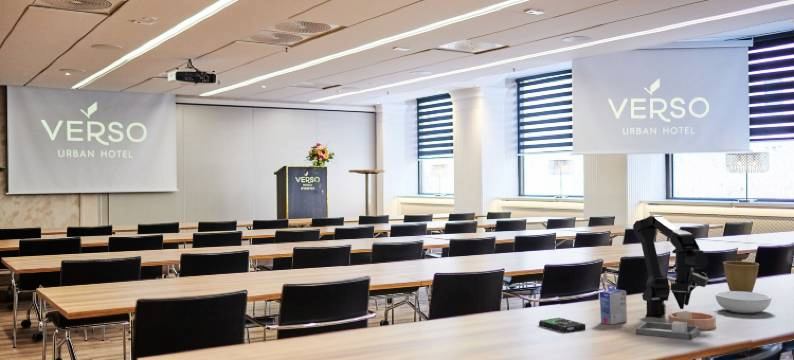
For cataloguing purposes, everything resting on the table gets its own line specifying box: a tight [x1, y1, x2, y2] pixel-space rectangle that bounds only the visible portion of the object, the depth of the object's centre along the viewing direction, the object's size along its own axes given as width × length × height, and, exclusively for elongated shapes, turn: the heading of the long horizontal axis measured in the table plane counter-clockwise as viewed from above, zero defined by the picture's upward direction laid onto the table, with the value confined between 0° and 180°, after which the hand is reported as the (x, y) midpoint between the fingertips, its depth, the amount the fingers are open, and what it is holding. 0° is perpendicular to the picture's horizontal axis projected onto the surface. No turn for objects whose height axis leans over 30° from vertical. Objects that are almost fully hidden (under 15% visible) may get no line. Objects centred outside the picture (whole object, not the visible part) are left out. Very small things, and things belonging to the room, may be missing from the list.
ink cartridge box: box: [599, 283, 628, 325], centre depth 281 cm, size 10×6×14 cm, turn 124°
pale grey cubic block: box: [671, 321, 688, 333], centre depth 259 cm, size 4×4×4 cm
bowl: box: [667, 311, 717, 330], centre depth 274 cm, size 16×16×4 cm
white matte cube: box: [676, 309, 692, 319], centre depth 276 cm, size 4×4×4 cm
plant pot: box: [722, 260, 760, 292], centre depth 334 cm, size 15×15×16 cm
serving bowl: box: [715, 290, 772, 315], centre depth 300 cm, size 21×21×7 cm
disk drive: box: [538, 317, 586, 334], centre depth 272 cm, size 10×3×15 cm
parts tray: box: [635, 321, 701, 340], centre depth 261 cm, size 19×15×2 cm
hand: (684, 307), depth 275 cm, fingers open, 9 cm apart
